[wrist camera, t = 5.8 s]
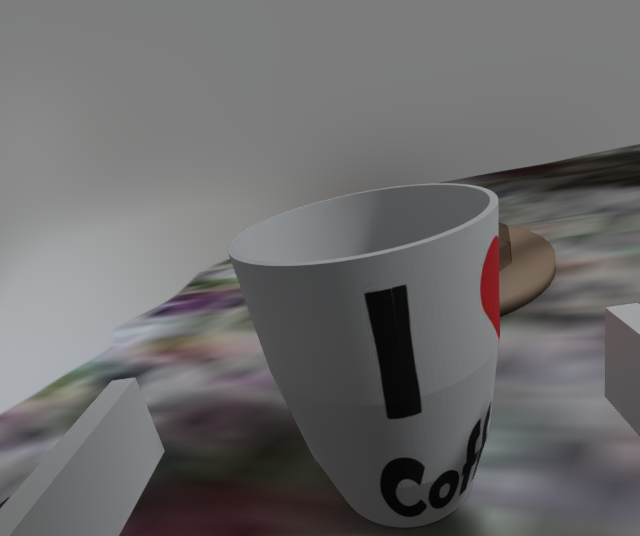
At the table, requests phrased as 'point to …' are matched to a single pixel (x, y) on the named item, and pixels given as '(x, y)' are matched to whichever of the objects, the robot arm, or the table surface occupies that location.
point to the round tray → (522, 267)
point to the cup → (383, 338)
